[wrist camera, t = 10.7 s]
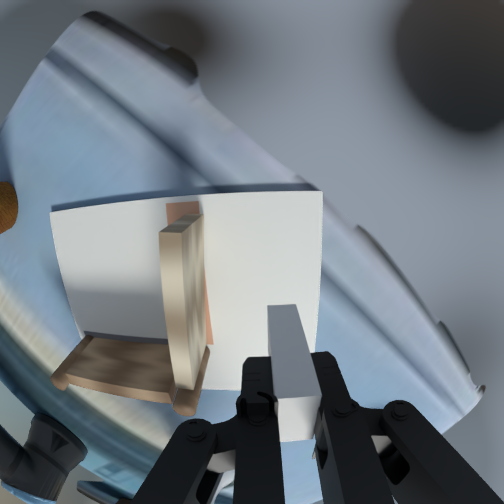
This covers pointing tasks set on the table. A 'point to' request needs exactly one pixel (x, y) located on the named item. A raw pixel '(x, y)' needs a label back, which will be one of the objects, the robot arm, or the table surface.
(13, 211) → the disposable coffee cup
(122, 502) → the plant pot
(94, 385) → the fixed fence section
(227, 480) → the flower vase
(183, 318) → the hinged fence panel
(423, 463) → the robot arm
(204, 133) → the table surface
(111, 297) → the board
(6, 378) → the table surface
